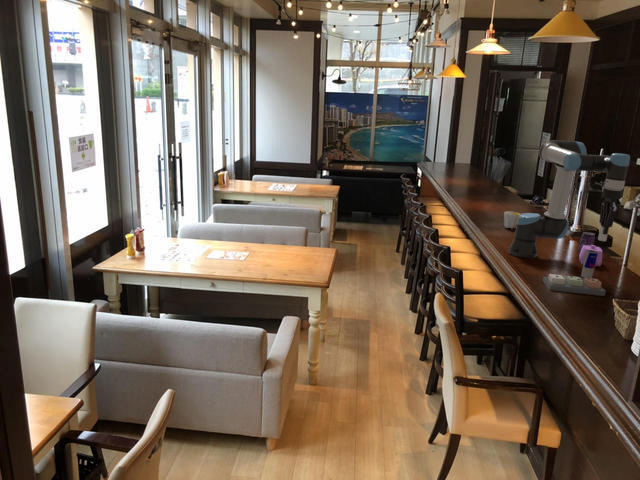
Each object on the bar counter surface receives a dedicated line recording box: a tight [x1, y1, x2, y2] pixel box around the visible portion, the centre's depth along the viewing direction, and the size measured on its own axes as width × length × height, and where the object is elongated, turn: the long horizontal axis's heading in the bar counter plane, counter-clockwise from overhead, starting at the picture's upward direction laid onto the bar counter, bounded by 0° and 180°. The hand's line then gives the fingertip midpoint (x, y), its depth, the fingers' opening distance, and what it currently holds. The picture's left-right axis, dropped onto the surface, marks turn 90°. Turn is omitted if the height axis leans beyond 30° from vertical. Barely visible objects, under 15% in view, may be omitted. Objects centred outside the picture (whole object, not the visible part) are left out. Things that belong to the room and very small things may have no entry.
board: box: [542, 276, 607, 297], centre depth 241 cm, size 12×24×2 cm, turn 81°
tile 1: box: [547, 273, 566, 285], centre depth 241 cm, size 6×6×3 cm
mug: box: [503, 210, 521, 230], centre depth 351 cm, size 14×10×10 cm
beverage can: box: [577, 231, 596, 253], centre depth 301 cm, size 7×7×12 cm
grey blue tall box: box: [580, 250, 598, 281], centre depth 253 cm, size 5×5×15 cm
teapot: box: [578, 245, 603, 267], centre depth 283 cm, size 18×10×10 cm, turn 162°
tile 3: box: [583, 277, 602, 289], centre depth 239 cm, size 6×6×3 cm
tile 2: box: [565, 275, 584, 287], centre depth 240 cm, size 6×6×3 cm
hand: (601, 240), depth 234 cm, fingers closed
